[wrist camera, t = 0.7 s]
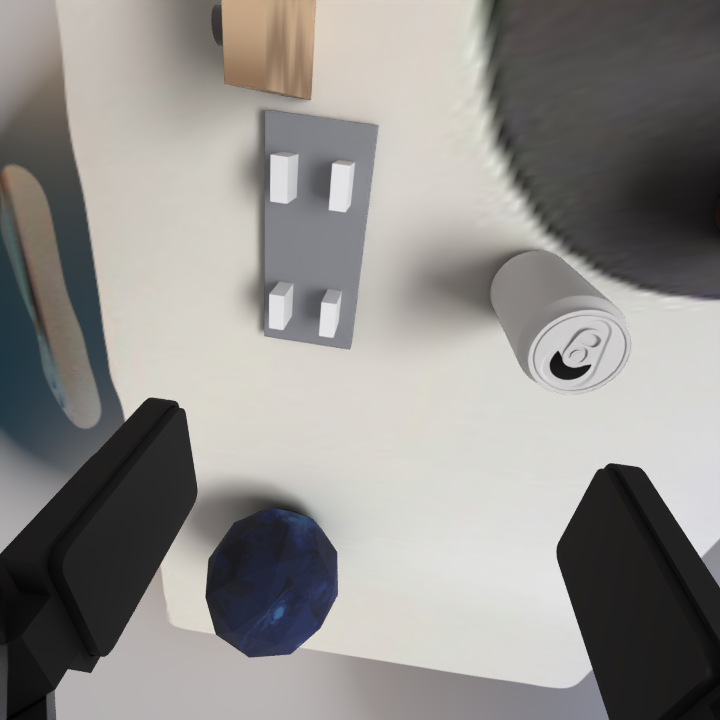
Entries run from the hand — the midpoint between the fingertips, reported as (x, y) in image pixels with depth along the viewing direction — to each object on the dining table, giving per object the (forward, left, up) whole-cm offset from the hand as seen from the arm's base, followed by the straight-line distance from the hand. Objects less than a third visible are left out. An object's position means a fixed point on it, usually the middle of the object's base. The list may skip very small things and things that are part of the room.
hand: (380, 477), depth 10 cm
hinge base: (+2, -7, -27) cm, 28 cm away
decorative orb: (+38, -8, -28) cm, 48 cm away
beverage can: (+3, +11, -28) cm, 30 cm away
